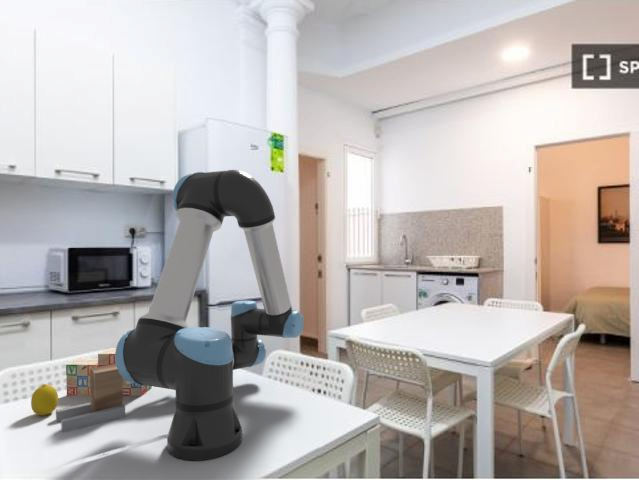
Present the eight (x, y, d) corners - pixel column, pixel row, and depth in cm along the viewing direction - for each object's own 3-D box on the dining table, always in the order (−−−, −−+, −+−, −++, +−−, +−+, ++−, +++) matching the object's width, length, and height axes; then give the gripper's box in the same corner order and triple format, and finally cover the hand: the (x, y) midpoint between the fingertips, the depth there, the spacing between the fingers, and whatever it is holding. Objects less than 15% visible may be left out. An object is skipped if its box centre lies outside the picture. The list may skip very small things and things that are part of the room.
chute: (125, 419, 104) (125, 407, 104) (62, 435, 96) (62, 422, 96) (115, 408, 111) (115, 396, 111) (55, 422, 103) (55, 410, 103)
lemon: (45, 422, 103) (45, 388, 103) (25, 421, 104) (25, 387, 104) (63, 413, 108) (63, 381, 108) (44, 411, 109) (44, 379, 109)
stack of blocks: (65, 398, 119) (65, 353, 119) (80, 390, 125) (79, 347, 125) (142, 399, 117) (141, 353, 117) (152, 391, 123) (152, 347, 123)
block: (122, 413, 105) (122, 368, 105) (95, 420, 102) (95, 373, 102) (117, 407, 109) (116, 363, 109) (90, 414, 106) (90, 368, 105)
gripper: (224, 379, 118) (133, 400, 103) (204, 368, 128) (118, 386, 113) (224, 351, 118) (133, 369, 103) (203, 343, 128) (117, 357, 113)
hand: (125, 378), depth 108 cm, fingers closed
